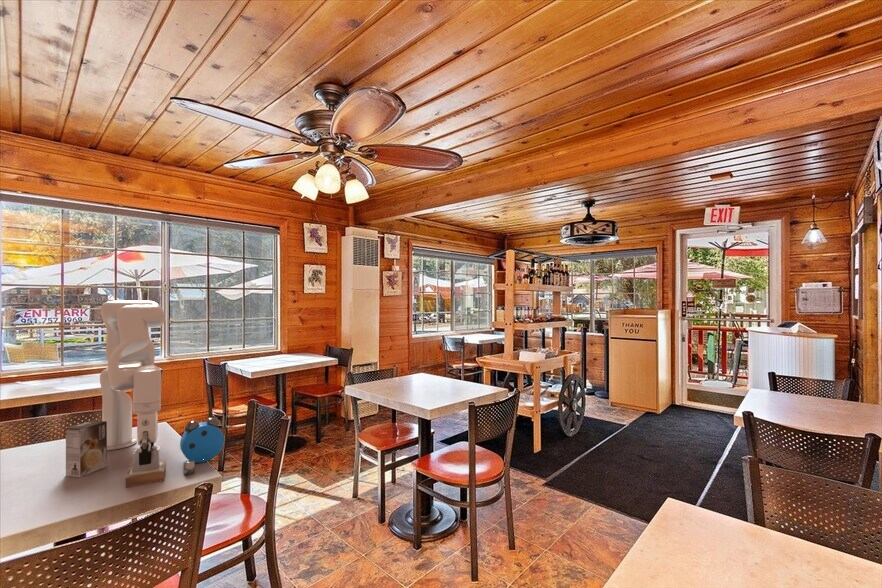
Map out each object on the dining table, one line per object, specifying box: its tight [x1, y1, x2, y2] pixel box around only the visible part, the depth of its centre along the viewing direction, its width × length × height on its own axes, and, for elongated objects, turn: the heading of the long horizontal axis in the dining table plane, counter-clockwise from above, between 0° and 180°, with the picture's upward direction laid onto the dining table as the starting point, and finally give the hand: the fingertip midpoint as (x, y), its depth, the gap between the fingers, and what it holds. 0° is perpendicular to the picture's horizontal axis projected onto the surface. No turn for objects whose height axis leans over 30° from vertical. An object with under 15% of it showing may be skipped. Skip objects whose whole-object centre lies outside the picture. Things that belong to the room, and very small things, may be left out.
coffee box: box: [65, 420, 108, 478], centre depth 143 cm, size 9×6×16 cm
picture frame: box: [124, 460, 167, 488], centre depth 137 cm, size 10×10×3 cm
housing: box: [131, 445, 161, 473], centre depth 137 cm, size 5×7×6 cm
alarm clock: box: [179, 416, 225, 464], centre depth 152 cm, size 13×6×15 cm, turn 131°
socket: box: [183, 459, 196, 477], centre depth 141 cm, size 3×3×4 cm
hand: (146, 459), depth 137 cm, fingers open, 9 cm apart
